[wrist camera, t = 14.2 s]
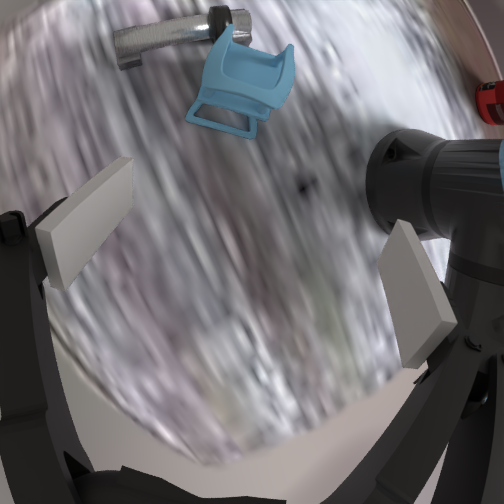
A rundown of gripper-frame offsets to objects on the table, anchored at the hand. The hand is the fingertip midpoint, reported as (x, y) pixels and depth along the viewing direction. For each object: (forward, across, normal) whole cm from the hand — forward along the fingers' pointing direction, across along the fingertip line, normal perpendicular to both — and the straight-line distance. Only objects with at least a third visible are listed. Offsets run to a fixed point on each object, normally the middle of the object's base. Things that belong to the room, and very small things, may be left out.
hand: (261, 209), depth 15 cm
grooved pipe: (+22, -13, +7) cm, 27 cm away
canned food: (+39, +35, +12) cm, 54 cm away
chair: (+22, -6, +1) cm, 22 cm away
